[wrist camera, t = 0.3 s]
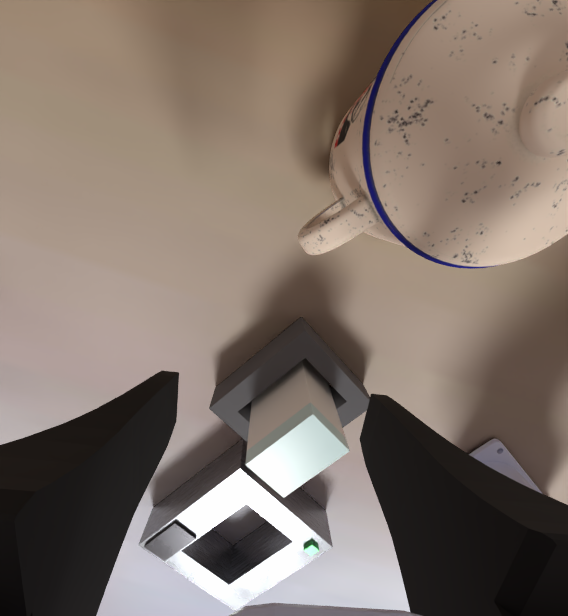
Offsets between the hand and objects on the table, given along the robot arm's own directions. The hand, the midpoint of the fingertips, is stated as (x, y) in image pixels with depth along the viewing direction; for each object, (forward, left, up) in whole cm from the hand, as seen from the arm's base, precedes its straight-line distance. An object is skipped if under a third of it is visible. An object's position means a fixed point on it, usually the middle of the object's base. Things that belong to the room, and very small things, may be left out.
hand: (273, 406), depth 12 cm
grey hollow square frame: (-5, +3, -10) cm, 11 cm away
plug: (-5, +3, -10) cm, 11 cm away
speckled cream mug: (+2, -10, -10) cm, 15 cm away
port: (-11, +13, -10) cm, 20 cm away
